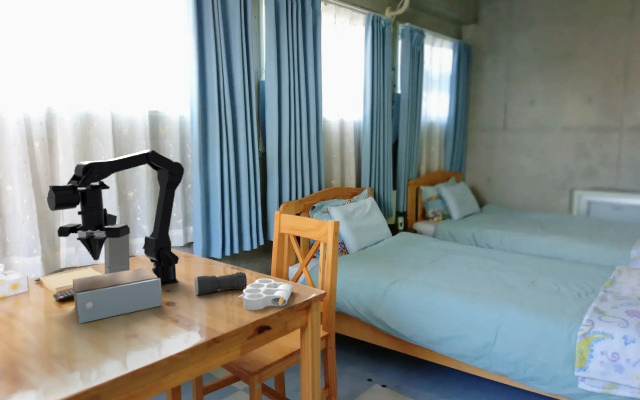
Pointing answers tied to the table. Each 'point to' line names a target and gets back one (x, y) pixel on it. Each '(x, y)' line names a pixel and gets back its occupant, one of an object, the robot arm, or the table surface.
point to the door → (118, 300)
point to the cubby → (110, 281)
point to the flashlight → (219, 283)
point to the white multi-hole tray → (265, 294)
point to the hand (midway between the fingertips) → (96, 259)
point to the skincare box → (116, 254)
